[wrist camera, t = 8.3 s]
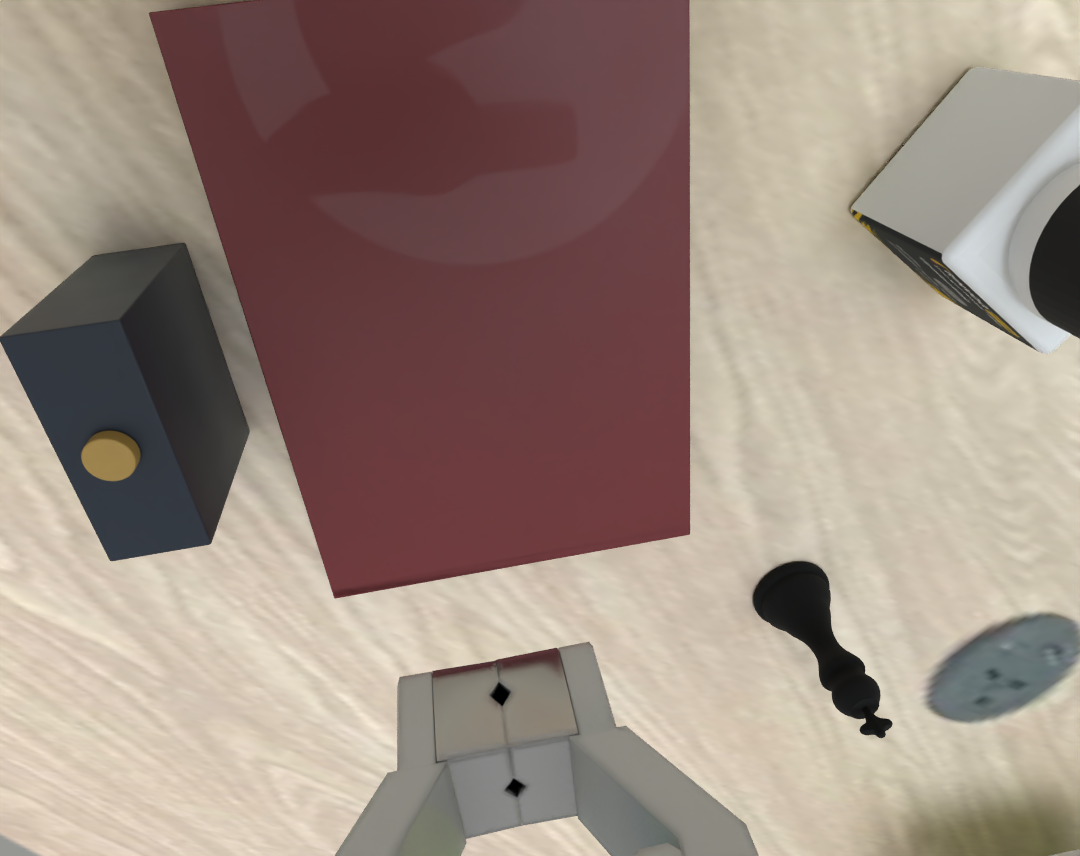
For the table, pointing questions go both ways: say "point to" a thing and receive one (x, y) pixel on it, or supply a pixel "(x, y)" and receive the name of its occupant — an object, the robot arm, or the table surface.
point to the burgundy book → (457, 265)
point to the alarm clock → (134, 398)
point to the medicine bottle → (992, 203)
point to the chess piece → (820, 638)
